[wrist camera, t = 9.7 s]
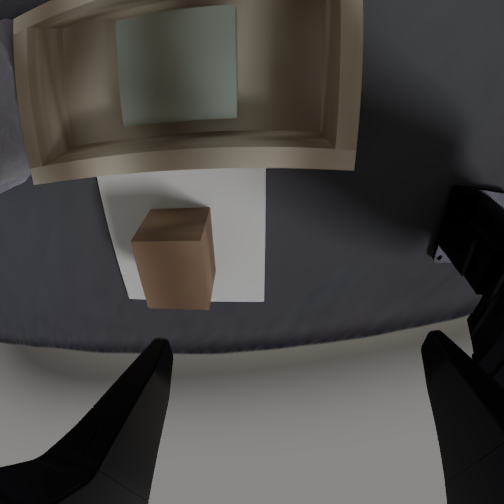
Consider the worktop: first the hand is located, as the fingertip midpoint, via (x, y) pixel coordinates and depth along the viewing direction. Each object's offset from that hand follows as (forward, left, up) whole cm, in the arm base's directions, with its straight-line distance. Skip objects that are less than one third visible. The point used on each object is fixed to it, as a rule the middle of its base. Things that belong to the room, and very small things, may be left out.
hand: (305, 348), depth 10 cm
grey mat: (+7, +3, -12) cm, 14 cm away
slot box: (+6, -8, -12) cm, 15 cm away
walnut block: (+7, +3, -11) cm, 13 cm away
